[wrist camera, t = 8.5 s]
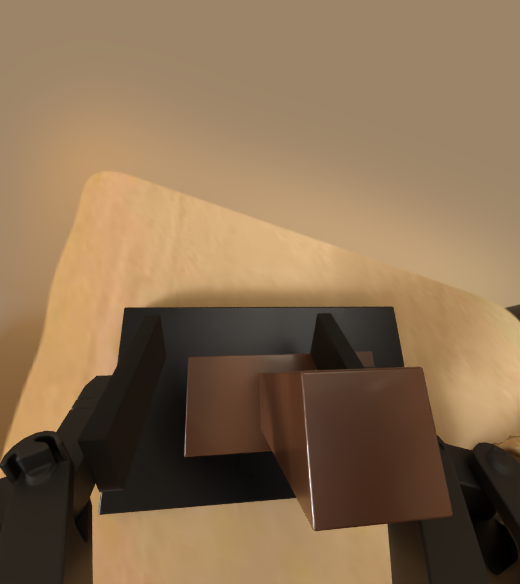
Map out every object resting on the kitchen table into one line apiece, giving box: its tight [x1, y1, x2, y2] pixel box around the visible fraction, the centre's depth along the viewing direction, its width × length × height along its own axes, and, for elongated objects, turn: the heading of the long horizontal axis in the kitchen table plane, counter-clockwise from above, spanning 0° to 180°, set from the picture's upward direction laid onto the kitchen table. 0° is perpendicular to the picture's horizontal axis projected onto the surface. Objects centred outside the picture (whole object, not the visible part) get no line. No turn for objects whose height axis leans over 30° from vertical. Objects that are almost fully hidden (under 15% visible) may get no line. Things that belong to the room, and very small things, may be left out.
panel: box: [99, 307, 404, 515], centre depth 18 cm, size 20×12×2 cm, turn 91°
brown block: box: [184, 351, 453, 531], centre depth 12 cm, size 11×5×12 cm, turn 92°
